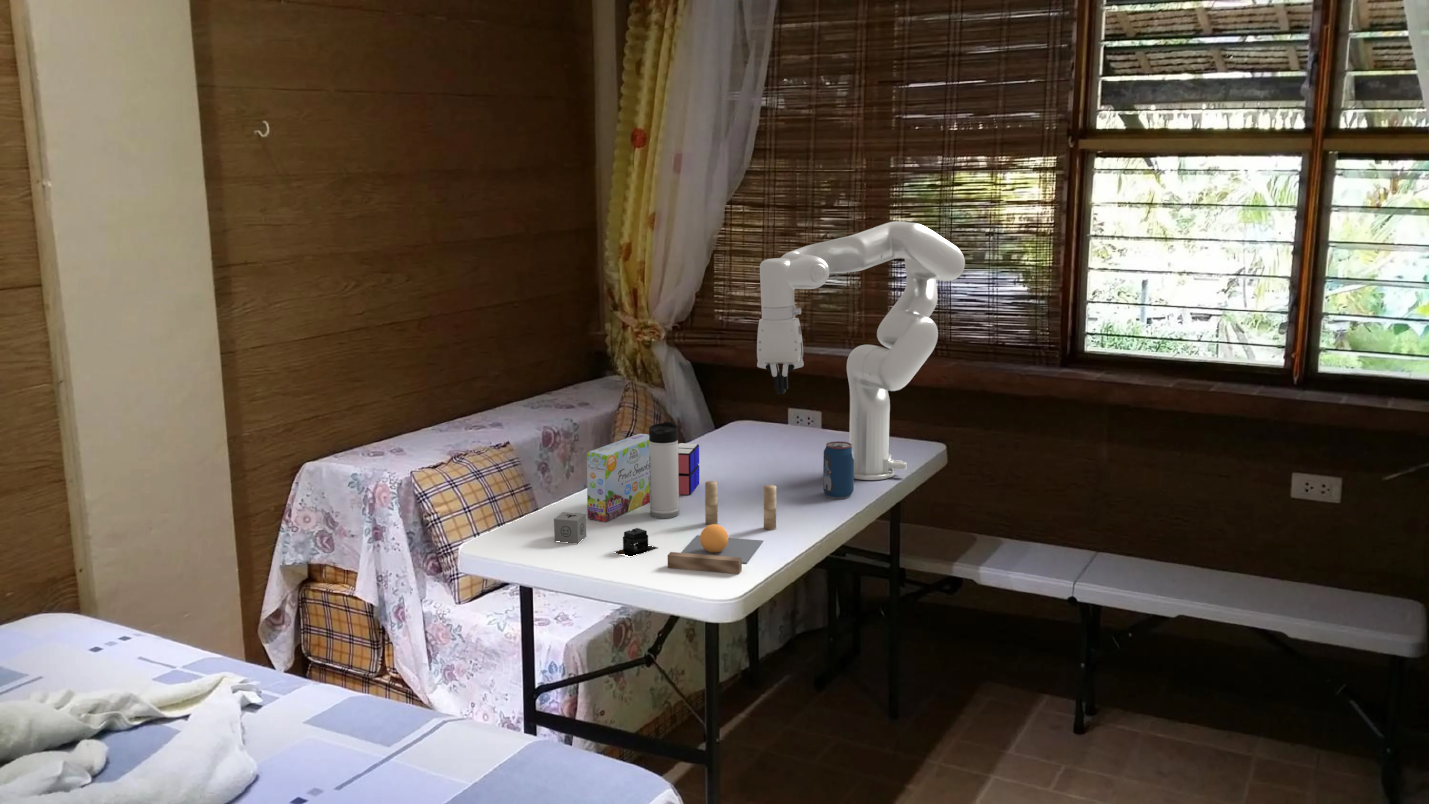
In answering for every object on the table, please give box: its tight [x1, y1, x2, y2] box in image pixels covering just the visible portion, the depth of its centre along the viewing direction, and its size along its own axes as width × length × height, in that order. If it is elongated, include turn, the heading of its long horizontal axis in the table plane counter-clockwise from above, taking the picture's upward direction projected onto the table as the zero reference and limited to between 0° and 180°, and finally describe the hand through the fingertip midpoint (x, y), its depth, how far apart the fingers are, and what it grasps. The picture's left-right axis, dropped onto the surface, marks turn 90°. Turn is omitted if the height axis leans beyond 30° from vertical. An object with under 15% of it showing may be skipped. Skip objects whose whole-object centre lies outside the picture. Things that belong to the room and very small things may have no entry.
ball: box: [699, 524, 729, 553], centre depth 244 cm, size 6×6×6 cm
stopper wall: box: [667, 551, 743, 575], centre depth 235 cm, size 14×2×2 cm, turn 75°
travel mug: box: [648, 421, 680, 519], centre depth 268 cm, size 6×7×20 cm
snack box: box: [586, 433, 650, 523], centre depth 273 cm, size 21×6×15 cm, turn 151°
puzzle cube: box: [678, 442, 700, 496], centre depth 289 cm, size 10×10×10 cm
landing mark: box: [680, 534, 764, 564], centre depth 246 cm, size 14×14×1 cm
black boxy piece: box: [614, 527, 659, 557], centre depth 246 cm, size 12×7×5 cm, turn 137°
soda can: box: [822, 440, 855, 499], centre depth 282 cm, size 7×7×12 cm
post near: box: [763, 484, 777, 531], centre depth 259 cm, size 3×3×9 cm
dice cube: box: [553, 511, 587, 545], centre depth 253 cm, size 5×5×5 cm
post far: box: [704, 480, 719, 526], centre depth 262 cm, size 3×3×9 cm
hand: (781, 392), depth 285 cm, fingers closed
